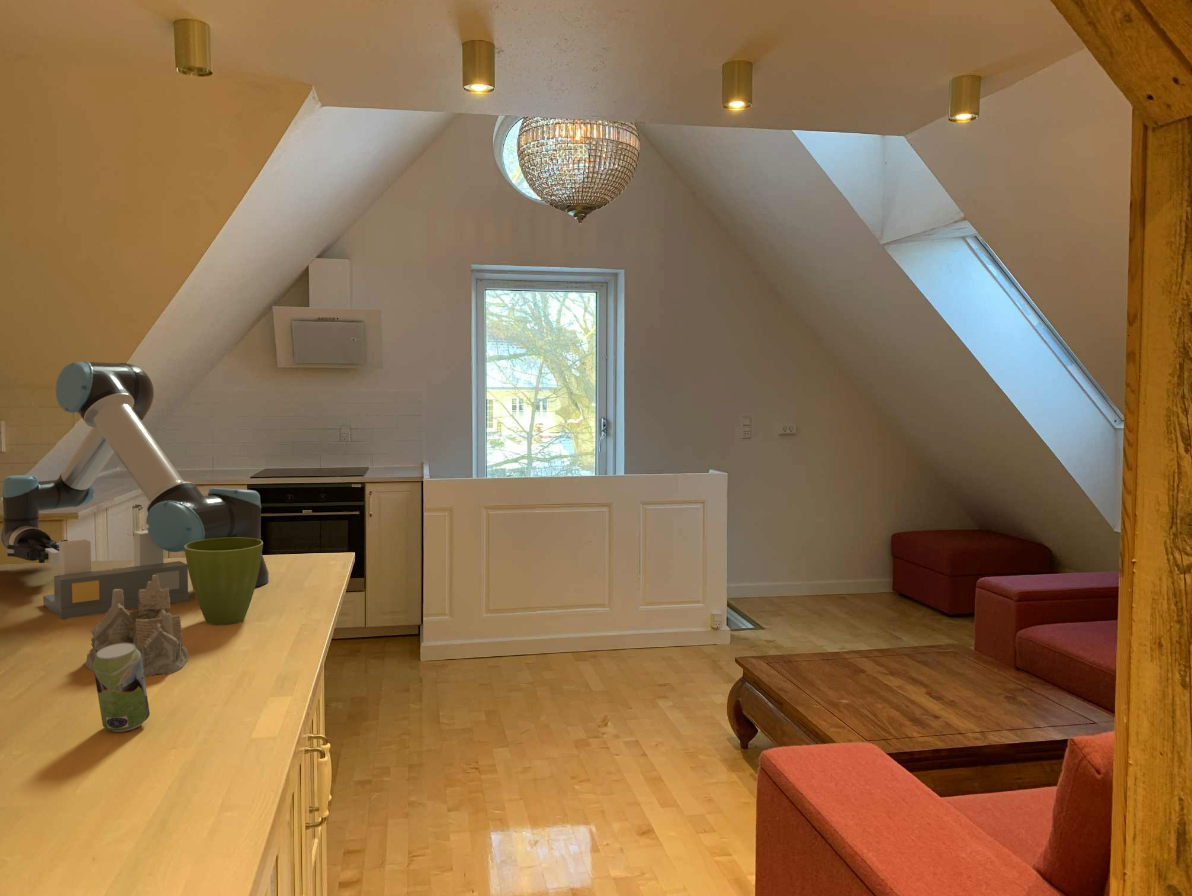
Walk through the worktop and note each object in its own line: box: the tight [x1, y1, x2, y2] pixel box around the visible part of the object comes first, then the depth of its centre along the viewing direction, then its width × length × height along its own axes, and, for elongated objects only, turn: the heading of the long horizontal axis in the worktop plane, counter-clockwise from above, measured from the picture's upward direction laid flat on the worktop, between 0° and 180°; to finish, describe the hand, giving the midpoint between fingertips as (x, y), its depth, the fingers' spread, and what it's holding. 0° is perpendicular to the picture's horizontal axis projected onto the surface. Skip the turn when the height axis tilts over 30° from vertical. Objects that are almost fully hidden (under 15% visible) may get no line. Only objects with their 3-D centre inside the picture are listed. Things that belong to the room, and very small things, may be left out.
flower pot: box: [184, 537, 264, 626], centre depth 184 cm, size 15×15×16 cm
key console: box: [42, 560, 190, 620], centre depth 197 cm, size 15×25×8 cm, turn 134°
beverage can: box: [93, 643, 151, 733], centre depth 128 cm, size 6×7×12 cm
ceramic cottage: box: [85, 575, 189, 677], centre depth 156 cm, size 16×16×15 cm
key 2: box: [133, 529, 164, 567], centre depth 205 cm, size 4×5×12 cm
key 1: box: [58, 539, 92, 575], centre depth 191 cm, size 4×5×12 cm
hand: (56, 558), depth 202 cm, fingers closed
